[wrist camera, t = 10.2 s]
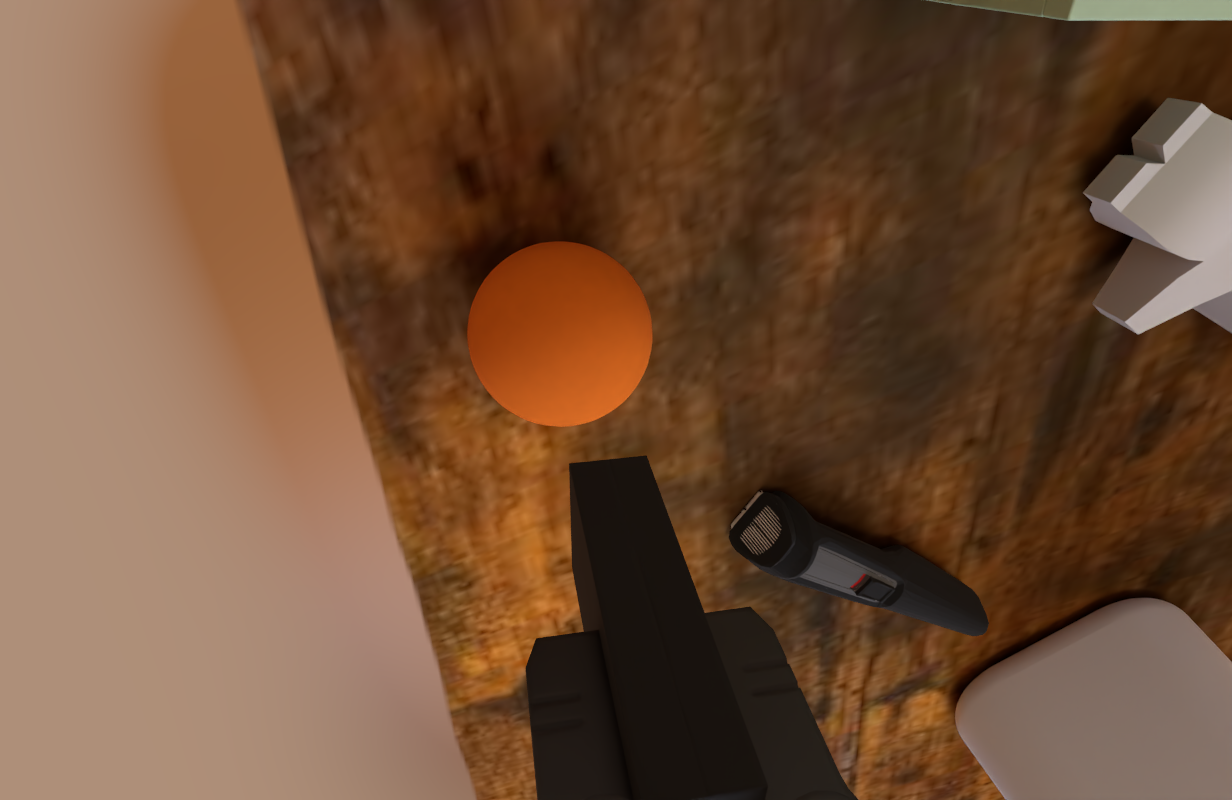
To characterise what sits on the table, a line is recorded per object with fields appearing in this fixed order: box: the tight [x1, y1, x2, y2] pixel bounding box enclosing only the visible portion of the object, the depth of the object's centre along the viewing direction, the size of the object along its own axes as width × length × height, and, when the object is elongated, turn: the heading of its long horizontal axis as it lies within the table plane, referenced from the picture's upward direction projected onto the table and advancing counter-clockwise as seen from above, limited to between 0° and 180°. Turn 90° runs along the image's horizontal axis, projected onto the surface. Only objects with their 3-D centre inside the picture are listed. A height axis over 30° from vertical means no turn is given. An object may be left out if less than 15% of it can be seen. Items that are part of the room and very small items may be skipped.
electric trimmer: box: [729, 489, 989, 636], centre depth 36 cm, size 4×16×3 cm, turn 57°
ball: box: [467, 241, 652, 427], centre depth 24 cm, size 6×6×6 cm
